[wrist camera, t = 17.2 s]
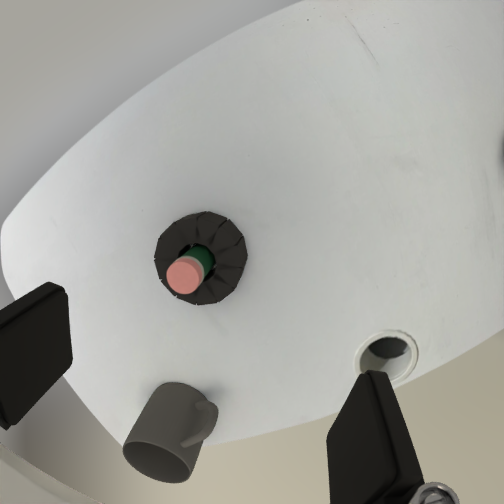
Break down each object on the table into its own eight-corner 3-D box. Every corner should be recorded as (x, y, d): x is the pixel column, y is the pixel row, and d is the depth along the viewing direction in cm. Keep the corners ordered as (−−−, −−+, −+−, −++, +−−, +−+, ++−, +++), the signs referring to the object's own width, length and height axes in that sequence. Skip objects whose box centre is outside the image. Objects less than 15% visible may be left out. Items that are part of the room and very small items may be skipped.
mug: (184, 431, 43) (161, 488, 32) (142, 394, 42) (108, 448, 31) (249, 401, 40) (235, 467, 29) (203, 356, 39) (174, 420, 27)
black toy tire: (153, 247, 36) (138, 257, 32) (208, 195, 33) (197, 199, 30) (205, 304, 37) (196, 320, 33) (263, 258, 34) (260, 269, 31)
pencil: (187, 250, 35) (159, 275, 27) (206, 233, 34) (182, 253, 26) (206, 271, 36) (182, 301, 28) (225, 254, 35) (206, 280, 27)
